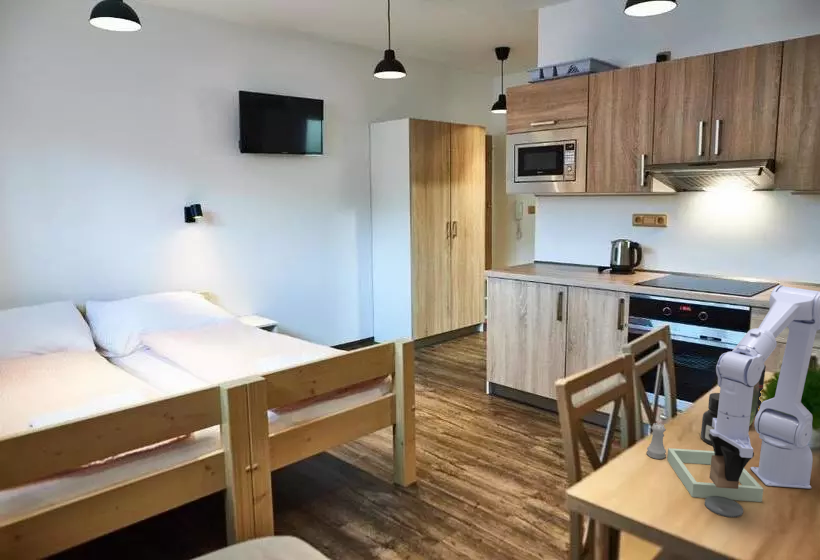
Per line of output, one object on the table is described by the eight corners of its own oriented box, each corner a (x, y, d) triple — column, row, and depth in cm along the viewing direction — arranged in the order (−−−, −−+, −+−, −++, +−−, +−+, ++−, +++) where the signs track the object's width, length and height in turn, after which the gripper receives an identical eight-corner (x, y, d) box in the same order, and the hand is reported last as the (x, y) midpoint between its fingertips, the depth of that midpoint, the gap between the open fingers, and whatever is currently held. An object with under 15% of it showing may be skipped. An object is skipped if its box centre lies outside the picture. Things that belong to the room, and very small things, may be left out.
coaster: (734, 500, 122) (734, 497, 122) (749, 518, 115) (749, 516, 115) (699, 497, 123) (699, 494, 123) (712, 515, 116) (712, 513, 116)
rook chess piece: (667, 460, 140) (670, 429, 138) (648, 458, 140) (650, 427, 139) (663, 452, 144) (666, 422, 143) (644, 450, 145) (647, 420, 143)
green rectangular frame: (728, 463, 138) (729, 452, 138) (761, 502, 122) (763, 488, 121) (667, 459, 140) (668, 448, 139) (692, 497, 123) (693, 484, 123)
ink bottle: (705, 447, 147) (709, 402, 145) (694, 432, 156) (698, 390, 154) (746, 450, 146) (751, 405, 144) (732, 435, 154) (737, 392, 152)
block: (729, 478, 120) (732, 456, 119) (738, 488, 116) (740, 465, 115) (709, 477, 121) (711, 455, 120) (717, 487, 117) (719, 464, 116)
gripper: (699, 397, 123) (693, 456, 126) (728, 425, 109) (720, 491, 111) (734, 399, 123) (728, 459, 125) (767, 427, 108) (759, 494, 111)
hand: (727, 474), depth 118 cm, fingers closed on block, 4 cm apart
